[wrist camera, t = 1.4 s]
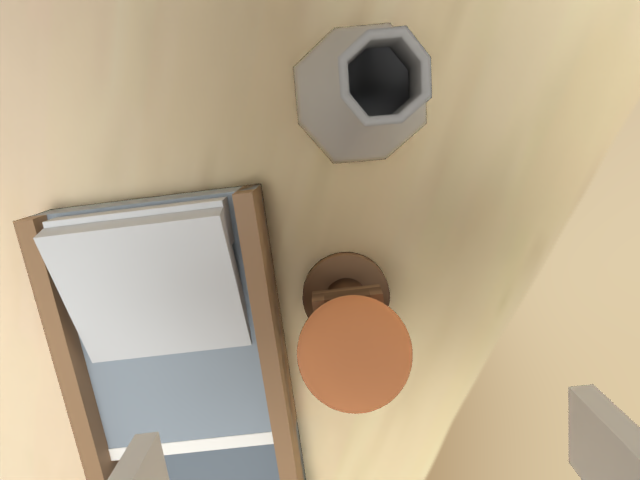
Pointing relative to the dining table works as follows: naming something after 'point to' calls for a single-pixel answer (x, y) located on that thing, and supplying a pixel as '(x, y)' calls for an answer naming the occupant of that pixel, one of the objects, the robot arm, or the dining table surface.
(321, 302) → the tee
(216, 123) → the dining table surface
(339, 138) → the flask
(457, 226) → the dining table surface
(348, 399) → the ball
